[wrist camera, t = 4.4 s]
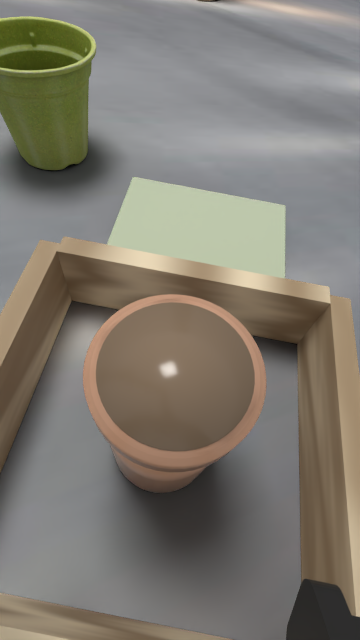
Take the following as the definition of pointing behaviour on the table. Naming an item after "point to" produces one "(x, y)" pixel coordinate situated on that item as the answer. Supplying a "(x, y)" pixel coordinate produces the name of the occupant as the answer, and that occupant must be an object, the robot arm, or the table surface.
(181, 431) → the seedling pot
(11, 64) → the plant pot
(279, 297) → the frame
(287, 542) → the table surface
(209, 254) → the green mat
